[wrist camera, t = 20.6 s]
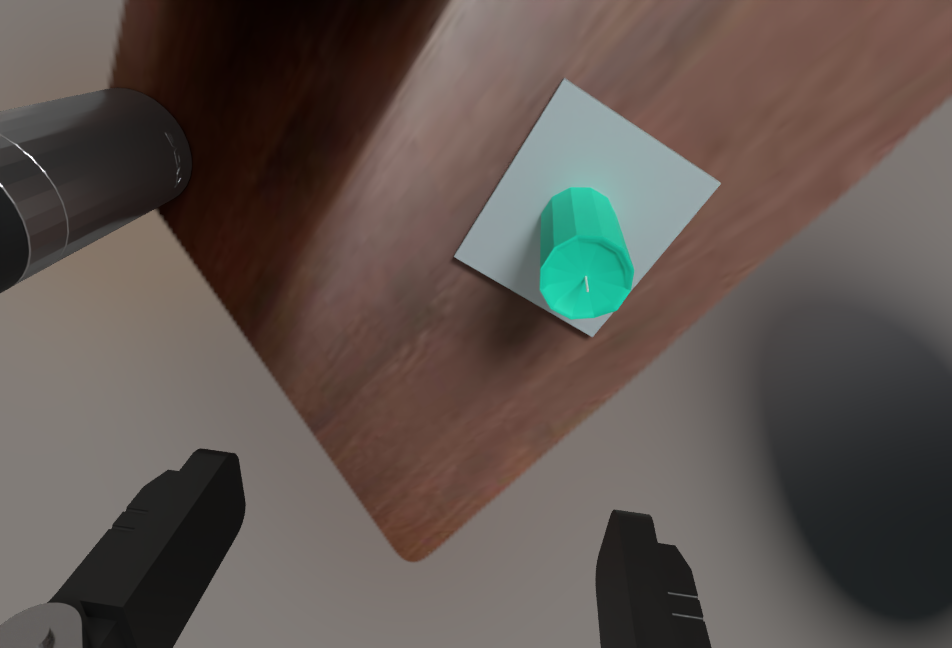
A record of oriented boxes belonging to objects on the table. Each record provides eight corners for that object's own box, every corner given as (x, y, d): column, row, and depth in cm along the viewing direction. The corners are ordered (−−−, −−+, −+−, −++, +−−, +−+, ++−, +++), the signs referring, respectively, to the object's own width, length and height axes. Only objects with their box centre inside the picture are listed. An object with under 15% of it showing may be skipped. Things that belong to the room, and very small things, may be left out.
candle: (530, 247, 47) (526, 319, 36) (553, 176, 44) (555, 233, 33) (600, 267, 47) (616, 343, 36) (628, 197, 44) (654, 260, 33)
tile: (591, 332, 51) (592, 337, 50) (455, 253, 48) (453, 256, 48) (718, 180, 43) (720, 183, 43) (563, 77, 41) (564, 78, 40)
